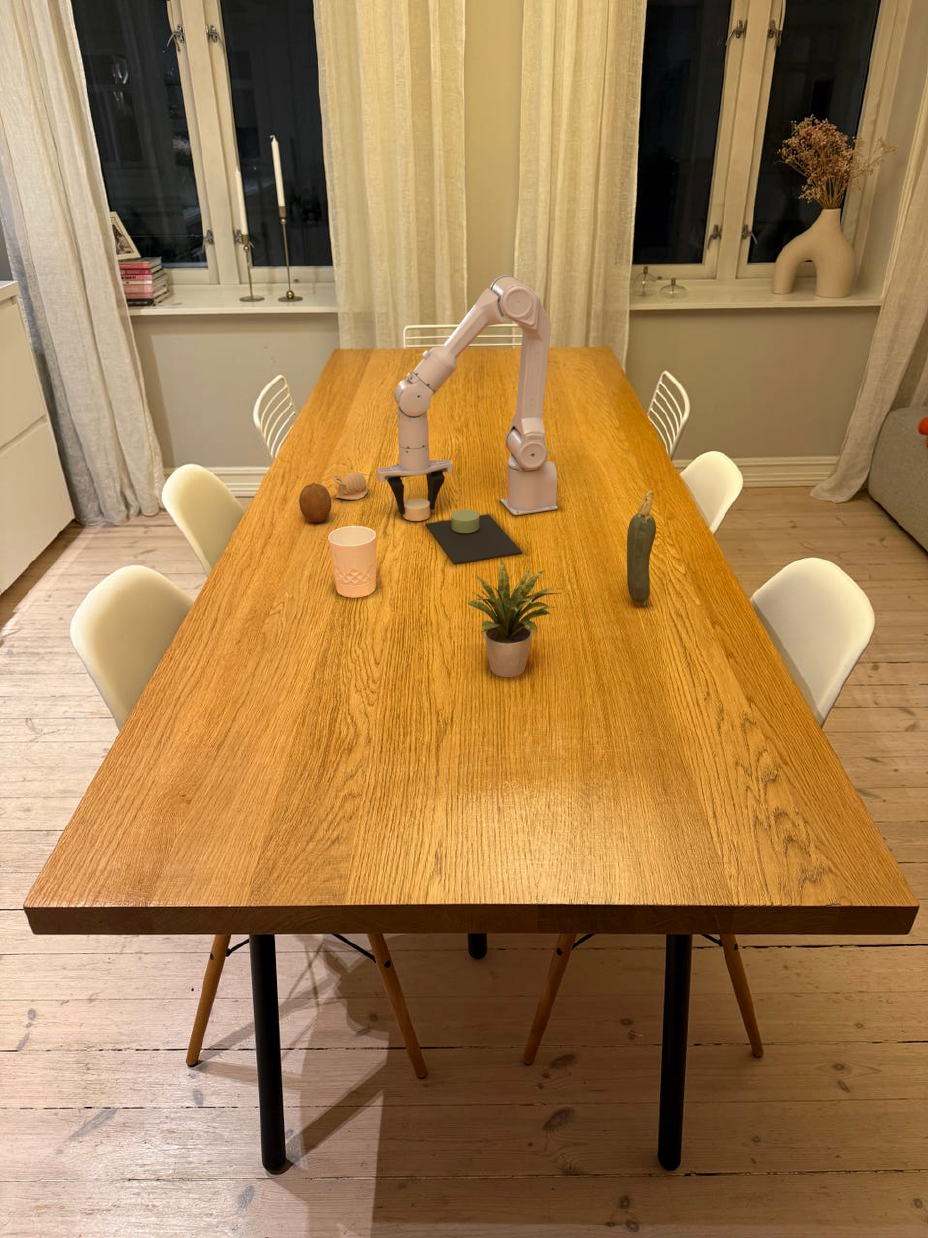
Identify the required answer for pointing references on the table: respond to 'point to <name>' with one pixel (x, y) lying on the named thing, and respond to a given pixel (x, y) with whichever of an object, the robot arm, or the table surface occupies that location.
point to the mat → (474, 541)
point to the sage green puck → (465, 521)
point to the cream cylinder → (416, 509)
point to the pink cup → (353, 560)
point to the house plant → (510, 622)
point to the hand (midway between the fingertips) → (416, 510)
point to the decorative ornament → (351, 486)
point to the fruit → (315, 502)
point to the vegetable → (640, 551)
